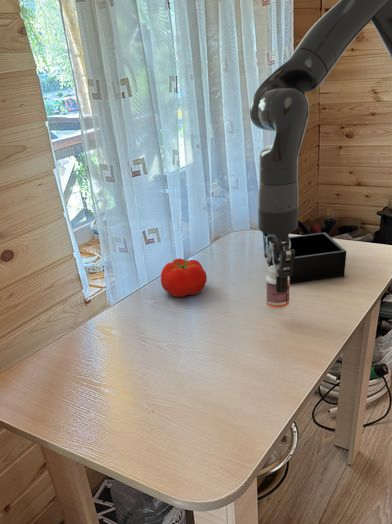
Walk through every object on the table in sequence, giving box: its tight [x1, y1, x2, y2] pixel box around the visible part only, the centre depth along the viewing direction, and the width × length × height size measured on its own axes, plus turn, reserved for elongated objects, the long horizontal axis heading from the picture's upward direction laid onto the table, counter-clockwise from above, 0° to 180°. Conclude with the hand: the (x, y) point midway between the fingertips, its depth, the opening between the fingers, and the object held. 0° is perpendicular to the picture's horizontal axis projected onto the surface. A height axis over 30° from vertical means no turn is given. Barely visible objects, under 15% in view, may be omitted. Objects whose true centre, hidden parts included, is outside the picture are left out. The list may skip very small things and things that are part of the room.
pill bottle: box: [265, 265, 291, 310], centre depth 106 cm, size 5×5×8 cm
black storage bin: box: [289, 231, 347, 285], centre depth 128 cm, size 14×14×7 cm
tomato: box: [160, 258, 208, 298], centre depth 122 cm, size 11×11×8 cm
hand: (277, 285), depth 106 cm, fingers closed on pill bottle, 4 cm apart
